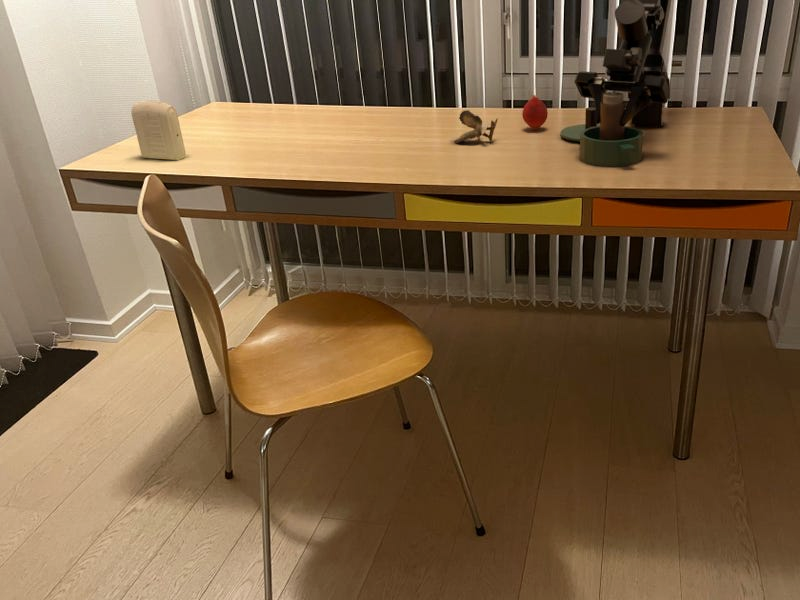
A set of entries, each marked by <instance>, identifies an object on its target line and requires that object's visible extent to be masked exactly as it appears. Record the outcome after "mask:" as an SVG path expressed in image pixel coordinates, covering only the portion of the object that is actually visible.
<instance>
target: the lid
mask: <svg viewBox="0 0 800 600" xmlns="http://www.w3.org/2000/svg"><path fill="white" fill-rule="evenodd" d="M584 114H585V116H584V118H585V119H584V120H585V121H584V124H576V125H575V124H574V125H570V126H567V127H564V128H562V129H561V130H560V136H561V137H562V138H563V139H566V140H568V141H573V142H579V143H580V132H582V131H583V130H585V129H588V128H589V127H595V126H600V123H599V124H597V123H596V107H586V108H585V113H584Z"/></svg>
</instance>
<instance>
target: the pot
mask: <svg viewBox="0 0 800 600" xmlns="http://www.w3.org/2000/svg"><path fill="white" fill-rule="evenodd" d="M599 131H600V126H595V127H589V128H588V129H585V130H583V131H582V132H580V142H579V159H580V161H581V162H583V163H585V164H589V165H591V166H599V167H623V166H630V165H634V164H636V163H638V162H640V161H641V160H642V158H643V149H644V148H643V147H644V131H642V130H641V129H640V128H635V127H634V126H628V125H625V128H624V140H614V141H605V140H599Z"/></svg>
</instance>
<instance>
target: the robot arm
mask: <svg viewBox="0 0 800 600" xmlns="http://www.w3.org/2000/svg"><path fill="white" fill-rule="evenodd" d="M671 5H672V0H624V1H622V2H621V3H619V4H618V6H617V7H616V8H615V10H614V18H615V23H616V27H617V31H618V36H619V38H620V40H622V41H621V43H620V47H619V48H606V49H605V51H604V57H603V61H602V67H603V68H606V71H605V74H606V75H607V77H609V79H605V78H603V77H601V76H599V75H598V73H597V71H583V70H581V71H579V72H577V74H576V75H575V79H574V84H575V86H576V88H577V91H578V92H579V93H578V94H579V95H580V97H583V98H585V99H592V100H593V101H594V105H595V107H594V108H596V123H597V124H600V103H601V102H602V101H603V94H605V93H608V91H609V92H612V91H615V92H619V93H627V99H628V102H627V104H626V107H625V112H624V114H623V117H622V121H621V125H622V126H627V124H628V123H629V122H630V123H631V125H632V127H633V128H637V129H646V128H663V127H664V124H663V123H662V117H663V105H665V104H667V103H668V101H669V99H670V98H671V83H670V82H671V81H670V77H669V74H668V71H667V67H666V64H665V61H664V58H663V50H664V45H665V39H666V34H667V28H668V22H669V17H670V11H671Z"/></svg>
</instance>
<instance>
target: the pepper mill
mask: <svg viewBox="0 0 800 600" xmlns="http://www.w3.org/2000/svg"><path fill="white" fill-rule="evenodd" d="M626 106H627V104H626V101H625V100H624V92H618V91H609V92H606V93H605V94H603V101H602V102H601V103H600V123H599V124H600V131H599V140H605V141H614V140H624V128H625V126H626V125H625V126H622V125H621V121H622V117H623V114H624V112H625V109H626Z"/></svg>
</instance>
